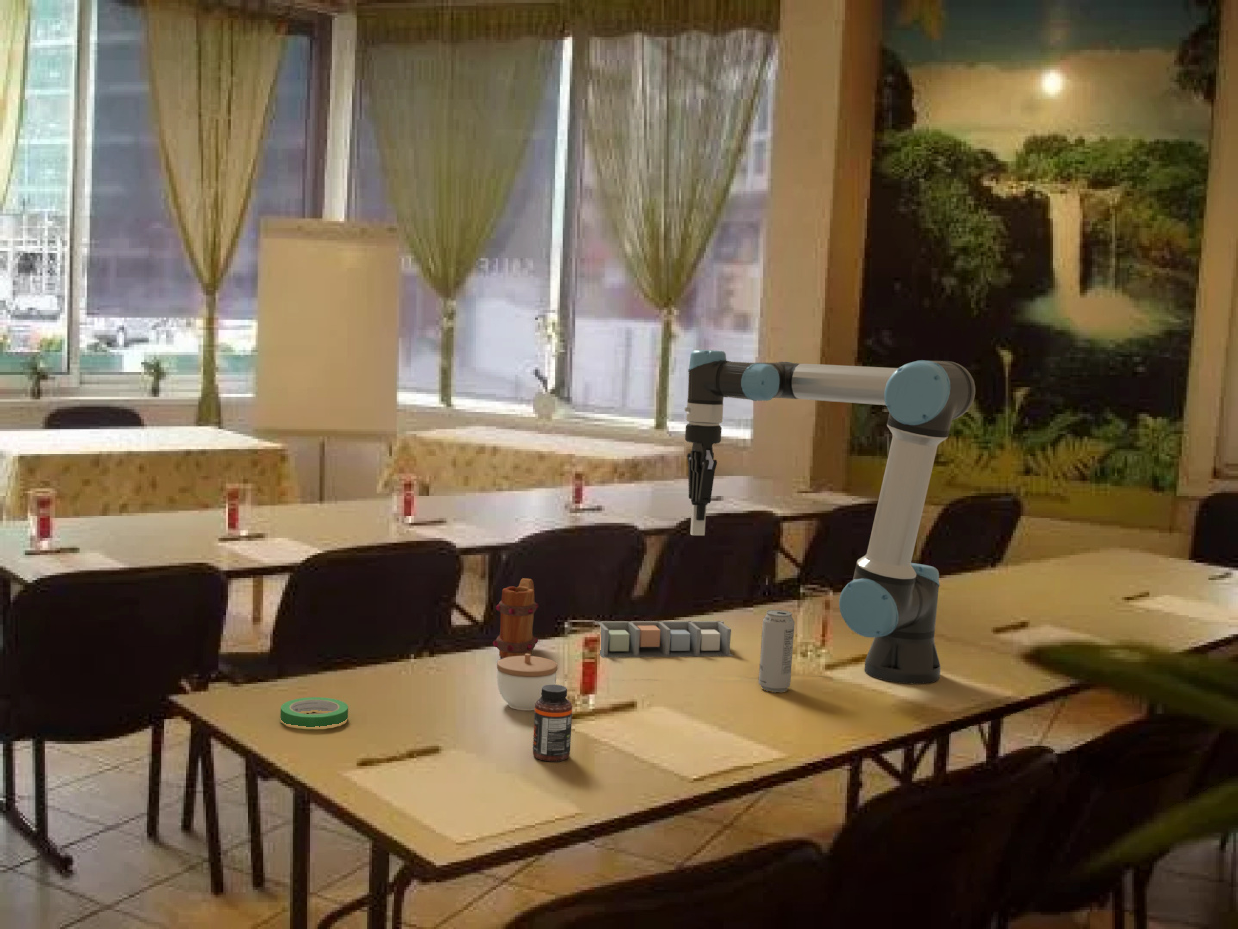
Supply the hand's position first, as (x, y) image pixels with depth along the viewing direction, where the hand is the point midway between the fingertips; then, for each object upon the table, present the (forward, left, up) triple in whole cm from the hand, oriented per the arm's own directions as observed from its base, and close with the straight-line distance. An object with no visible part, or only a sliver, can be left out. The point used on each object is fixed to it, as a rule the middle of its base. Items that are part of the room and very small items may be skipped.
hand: (697, 534), depth 301 cm
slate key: (-7, +5, -23) cm, 24 cm away
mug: (-6, +38, -24) cm, 46 cm away
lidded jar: (-41, +43, -24) cm, 65 cm away
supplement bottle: (-69, +44, -24) cm, 86 cm away
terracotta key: (-7, +12, -22) cm, 26 cm away
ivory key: (-7, -1, -23) cm, 24 cm away
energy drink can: (-33, -7, -24) cm, 42 cm away
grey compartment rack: (-7, +8, -24) cm, 27 cm away
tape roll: (-47, +80, -25) cm, 96 cm away
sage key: (-7, +18, -23) cm, 30 cm away
